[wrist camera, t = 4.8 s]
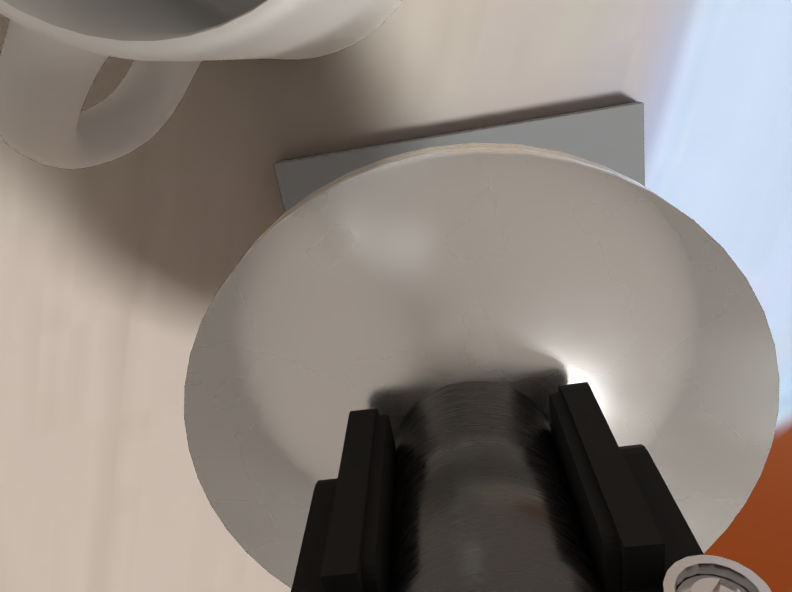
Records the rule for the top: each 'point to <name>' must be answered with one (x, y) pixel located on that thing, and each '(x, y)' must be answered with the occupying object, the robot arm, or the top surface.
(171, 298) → the top surface
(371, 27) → the mug
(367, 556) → the robot arm
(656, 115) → the top surface
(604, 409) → the lid
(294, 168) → the mat
